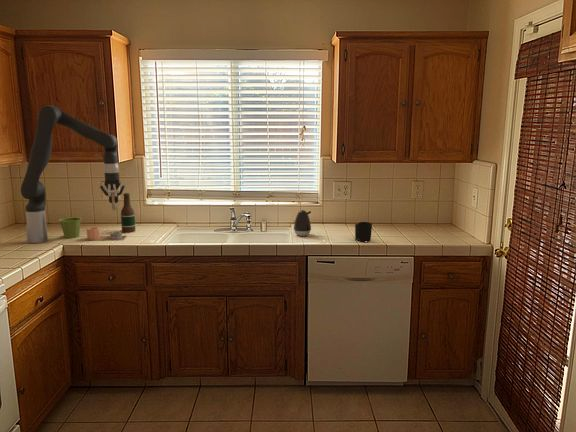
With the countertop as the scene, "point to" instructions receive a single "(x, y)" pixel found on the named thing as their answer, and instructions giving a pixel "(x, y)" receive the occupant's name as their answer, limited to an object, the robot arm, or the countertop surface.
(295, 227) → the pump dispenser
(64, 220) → the plant pot
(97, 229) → the terracotta cup
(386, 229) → the countertop surface
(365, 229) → the pen holder
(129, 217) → the beer bottle
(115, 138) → the robot arm
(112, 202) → the birch dowel
